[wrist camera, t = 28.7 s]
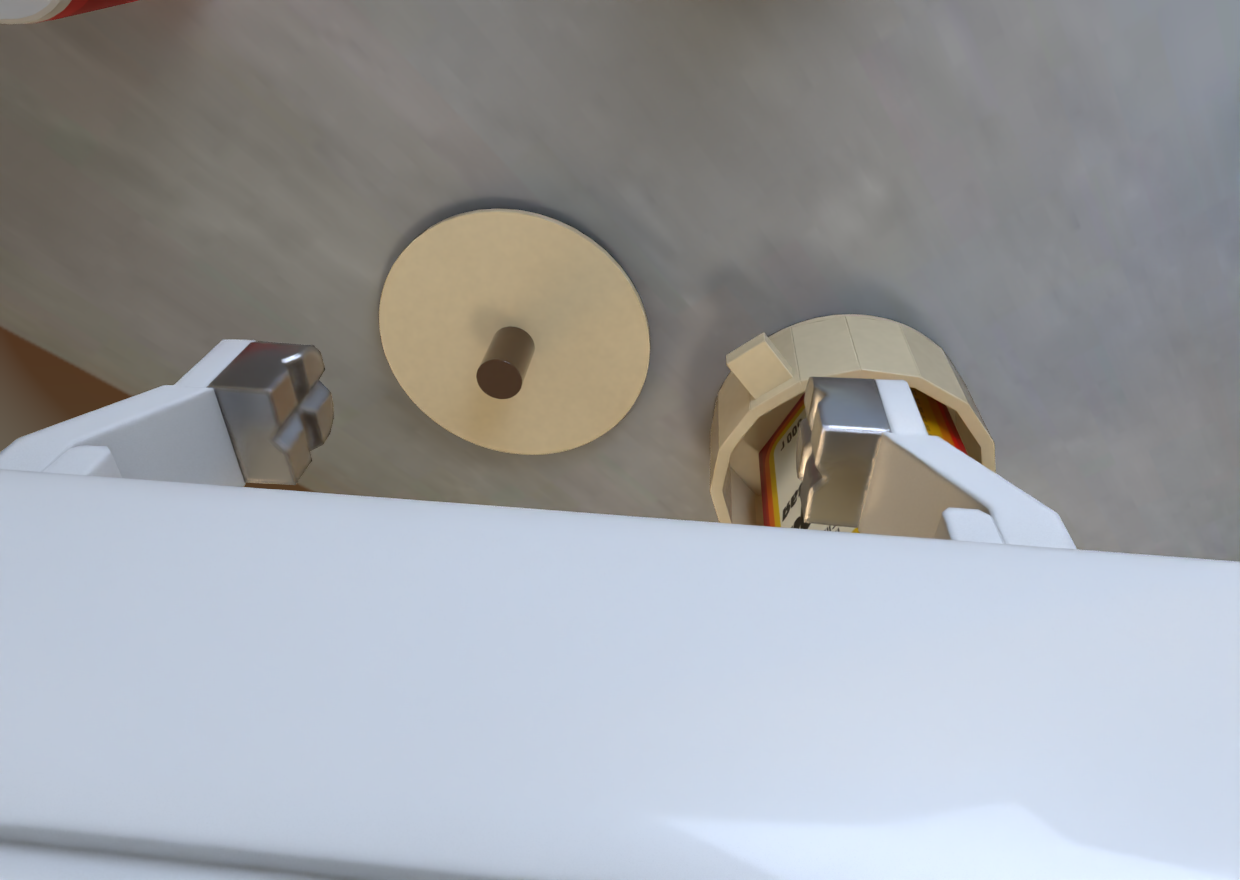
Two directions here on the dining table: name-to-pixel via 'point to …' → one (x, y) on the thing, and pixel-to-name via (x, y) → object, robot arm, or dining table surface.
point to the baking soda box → (782, 475)
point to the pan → (778, 379)
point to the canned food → (49, 9)
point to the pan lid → (514, 331)
